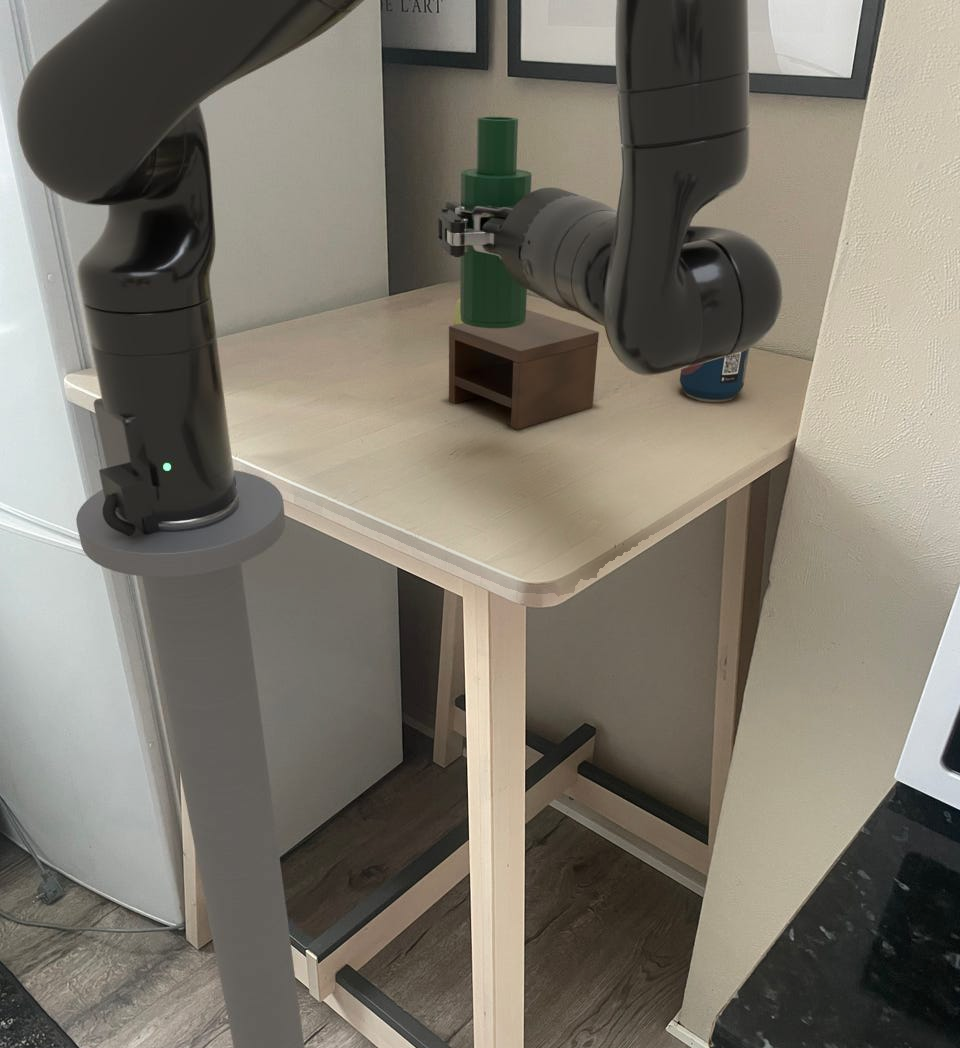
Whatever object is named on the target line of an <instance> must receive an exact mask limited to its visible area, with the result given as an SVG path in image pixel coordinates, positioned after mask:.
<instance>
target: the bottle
mask: <svg viewBox="0 0 960 1048" xmlns="http://www.w3.org/2000/svg"><path fill="white" fill-rule="evenodd" d="M476 121H477V124H476V129H477V130H476V132H477V133H476V168H469V169H465V170H462V171H461V172H460V204H461V205H463V206H466V207H468V208H472V209H474V208H475V207H476V206H481V205H494V206H499V207H507V206H513V205H514V206H515V205H516V204H517V203H518V202H519V201H520V200H521V199H522V198H523V197H525V196H526V195H528V194H529V193H531V192H532V175H533V173H532V172H529V171H527V170H524V169H517V164H518V163H517V161H518V160H517V159H518V133H519V131H518V130H519V119H518V118H517V117H511V116H480V117H477V120H476ZM493 217H495V216H492V215H491V216H490V219H492V218H493ZM470 228H471V229H473V230H474V221H473V219H472V218H470ZM459 278H460V284H459V285H460V288H459V289H460V294H459V295H460V296H459V299H460V314H461V321H462V322H463V323H465V324H467V325H470V326H474V327H480V328H510V327H515V326H519V325H521V324H523V323H524V322H525V318H526V310H527V299H528V297H527V296H528V295H527V294H528V289H526V288H525V287H523V286H521V285H520V284H519V283H517V282H516V281H515V280H514V279H513V278H512V276H511V275H510V274H509V272H508V271H507V269H506V267H505V265H504V263H503V261H502V259H500V258H499V256H497V255H493V254H488V253H483V252H478V251H476V250H475V249H474V248H473V245H468V251H467V252H465V255H464V256H461V257H460V277H459Z"/></svg>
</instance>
